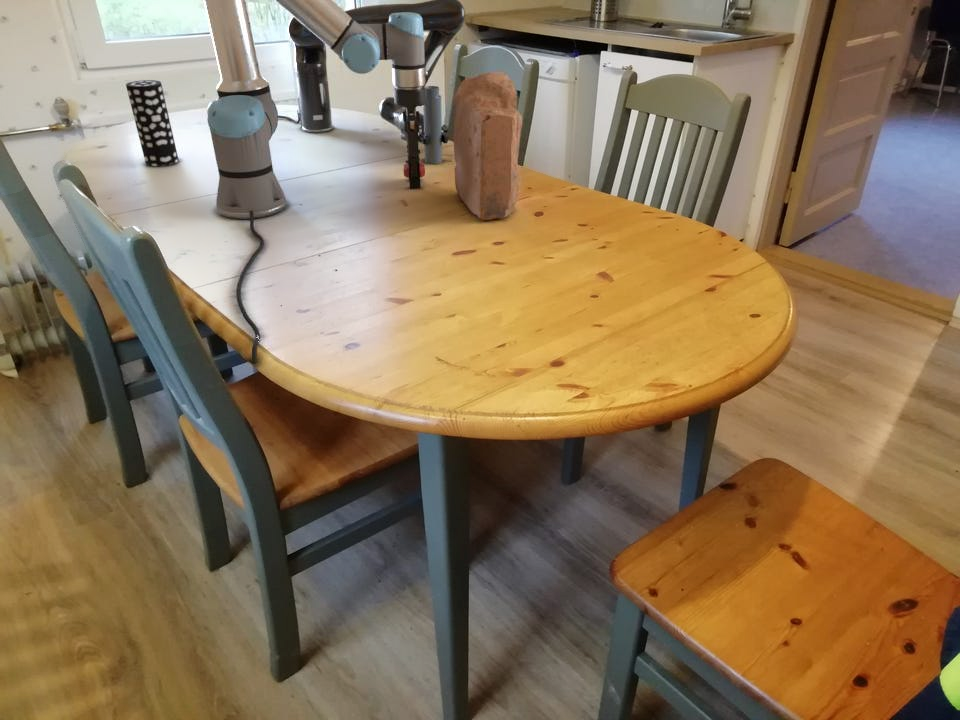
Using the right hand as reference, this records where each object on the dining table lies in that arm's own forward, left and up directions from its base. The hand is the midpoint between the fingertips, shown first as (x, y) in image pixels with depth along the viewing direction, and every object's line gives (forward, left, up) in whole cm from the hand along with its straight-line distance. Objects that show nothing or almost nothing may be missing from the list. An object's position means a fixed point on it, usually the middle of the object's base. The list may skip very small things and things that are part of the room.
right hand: (436, 140), depth 184 cm
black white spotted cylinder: (-56, -49, +4) cm, 74 cm away
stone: (+31, -15, -6) cm, 35 cm away
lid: (+8, -16, -2) cm, 18 cm away
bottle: (-2, +1, -6) cm, 7 cm away
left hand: (+8, -16, -6) cm, 19 cm away
